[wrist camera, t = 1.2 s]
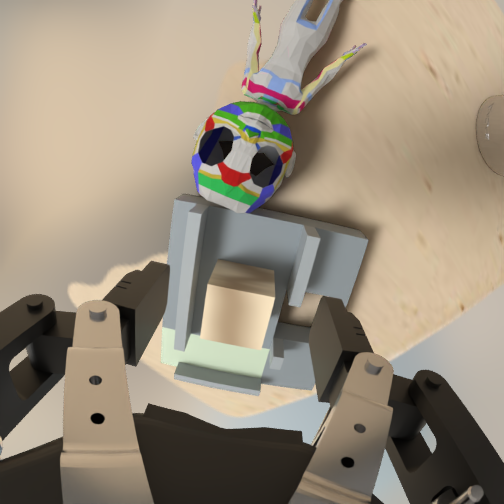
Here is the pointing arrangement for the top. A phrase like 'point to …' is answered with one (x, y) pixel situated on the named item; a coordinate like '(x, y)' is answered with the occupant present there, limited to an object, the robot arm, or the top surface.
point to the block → (238, 304)
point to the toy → (264, 112)
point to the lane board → (259, 255)
